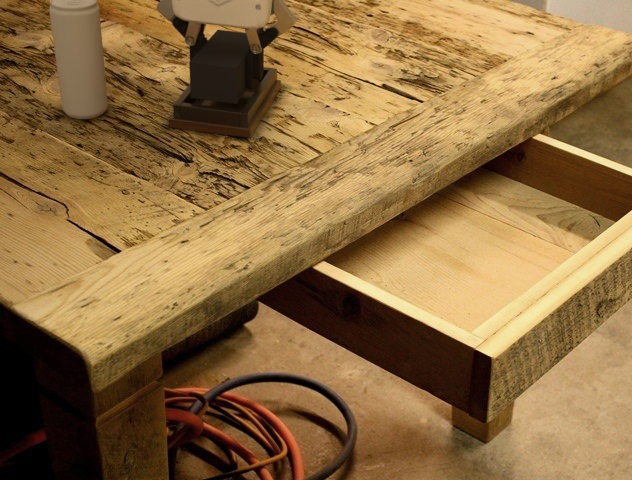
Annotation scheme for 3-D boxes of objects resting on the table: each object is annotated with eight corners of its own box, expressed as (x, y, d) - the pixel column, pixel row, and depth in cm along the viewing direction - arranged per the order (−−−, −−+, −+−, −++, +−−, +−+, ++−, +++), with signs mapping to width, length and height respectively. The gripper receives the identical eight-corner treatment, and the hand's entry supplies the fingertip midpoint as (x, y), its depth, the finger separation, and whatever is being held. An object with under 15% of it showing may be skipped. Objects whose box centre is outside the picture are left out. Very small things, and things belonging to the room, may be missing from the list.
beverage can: (112, 103, 101) (102, -7, 94) (103, 122, 97) (93, 9, 90) (67, 101, 101) (54, -9, 94) (57, 120, 97) (42, 6, 90)
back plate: (250, 138, 96) (250, 116, 95) (168, 127, 97) (167, 105, 96) (281, 88, 107) (281, 67, 106) (207, 78, 108) (207, 58, 107)
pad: (236, 104, 96) (236, 67, 94) (190, 98, 97) (189, 61, 94) (261, 68, 104) (261, 34, 102) (218, 63, 105) (217, 29, 103)
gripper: (126, -95, 88) (139, 84, 98) (301, -77, 86) (296, 104, 96) (153, -112, 94) (163, 59, 104) (317, -94, 92) (311, 77, 103)
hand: (227, 79), depth 100 cm, fingers closed on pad, 5 cm apart
